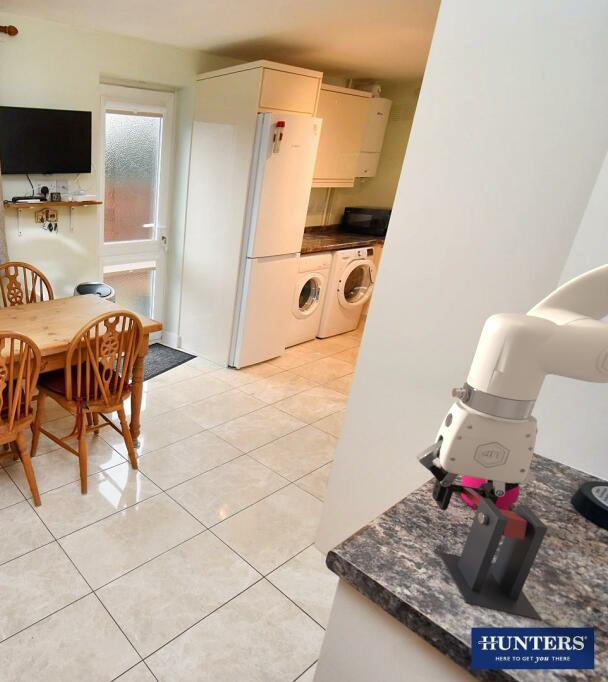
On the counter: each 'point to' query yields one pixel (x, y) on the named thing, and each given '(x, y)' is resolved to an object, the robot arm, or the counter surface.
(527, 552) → the switch bracket
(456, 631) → the counter surface
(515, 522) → the switch lever
